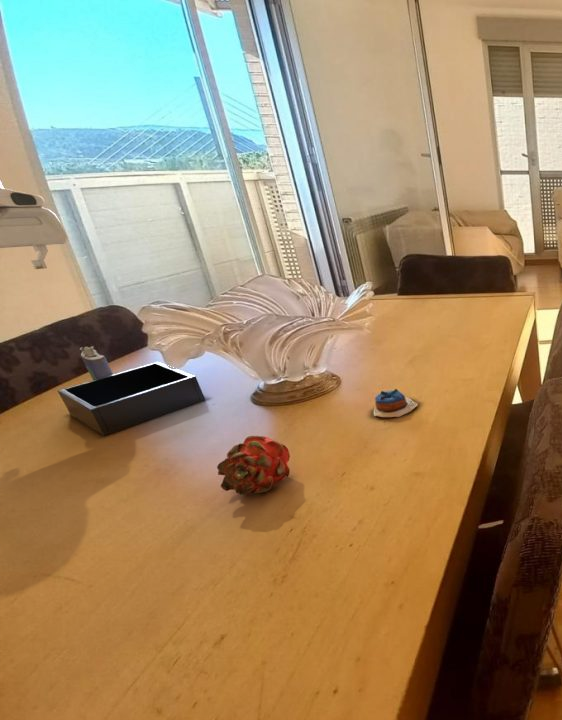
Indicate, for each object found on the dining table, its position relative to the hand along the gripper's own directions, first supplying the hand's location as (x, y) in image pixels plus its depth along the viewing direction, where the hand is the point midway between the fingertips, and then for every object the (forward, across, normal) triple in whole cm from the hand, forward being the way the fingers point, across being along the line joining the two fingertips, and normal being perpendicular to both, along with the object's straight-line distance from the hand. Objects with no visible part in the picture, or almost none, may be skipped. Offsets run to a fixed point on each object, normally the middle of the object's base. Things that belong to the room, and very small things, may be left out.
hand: (5, 272), depth 94 cm
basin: (+29, +6, -22) cm, 37 cm away
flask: (+27, +6, -6) cm, 29 cm away
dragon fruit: (+34, +4, -72) cm, 80 cm away
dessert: (+32, +29, -70) cm, 83 cm away
